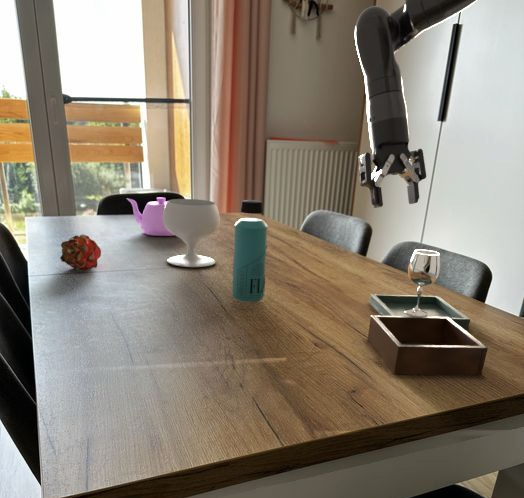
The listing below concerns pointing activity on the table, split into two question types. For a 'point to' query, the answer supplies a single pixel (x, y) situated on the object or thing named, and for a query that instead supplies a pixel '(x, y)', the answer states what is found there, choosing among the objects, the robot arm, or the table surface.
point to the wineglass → (422, 274)
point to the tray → (429, 304)
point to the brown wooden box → (426, 346)
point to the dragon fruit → (80, 252)
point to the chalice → (191, 227)
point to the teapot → (152, 217)
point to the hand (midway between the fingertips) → (396, 205)
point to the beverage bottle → (249, 254)
